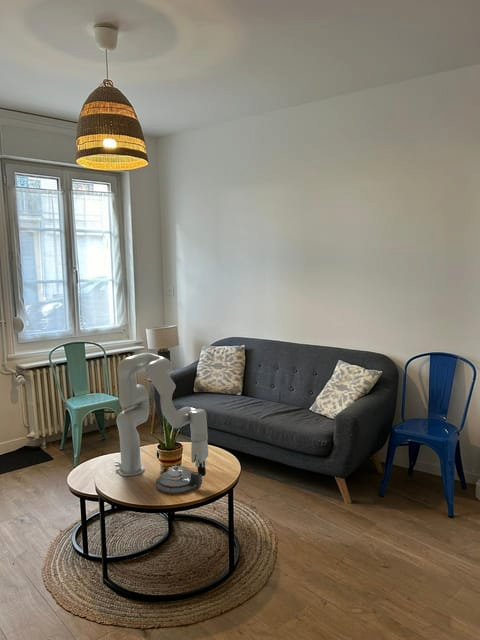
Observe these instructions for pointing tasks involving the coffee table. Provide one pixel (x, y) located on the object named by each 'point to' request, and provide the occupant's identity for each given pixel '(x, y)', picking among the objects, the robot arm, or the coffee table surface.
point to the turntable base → (174, 490)
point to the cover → (175, 473)
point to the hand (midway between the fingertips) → (201, 475)
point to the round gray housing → (188, 479)
